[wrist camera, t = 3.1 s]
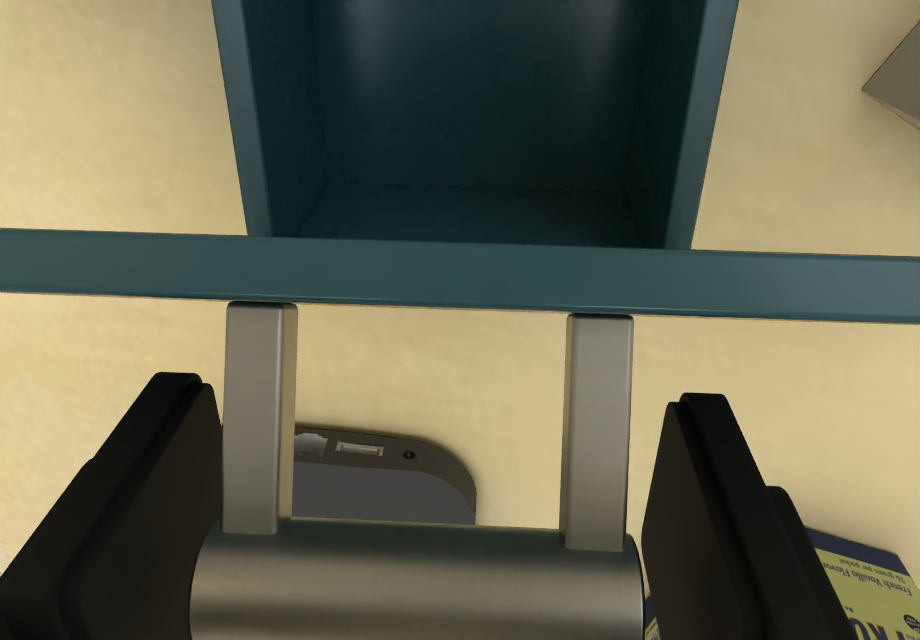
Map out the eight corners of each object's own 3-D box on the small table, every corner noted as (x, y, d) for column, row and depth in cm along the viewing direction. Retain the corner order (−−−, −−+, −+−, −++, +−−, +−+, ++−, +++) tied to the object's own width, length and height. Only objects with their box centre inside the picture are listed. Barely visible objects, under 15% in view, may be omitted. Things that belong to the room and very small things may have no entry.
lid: (-255, 219, 7) (-265, 726, 7) (1135, 262, 6) (1110, 810, 6) (251, 282, 21) (246, 445, 21) (684, 297, 20) (678, 463, 20)
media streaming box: (210, 608, 41) (191, 655, 39) (180, 410, 34) (154, 452, 31) (460, 633, 41) (457, 681, 39) (486, 440, 34) (484, 484, 31)
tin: (270, -245, 21) (161, -313, 14) (703, -243, 20) (801, -312, 14) (314, 193, 28) (254, 286, 21) (637, 202, 27) (681, 301, 21)
